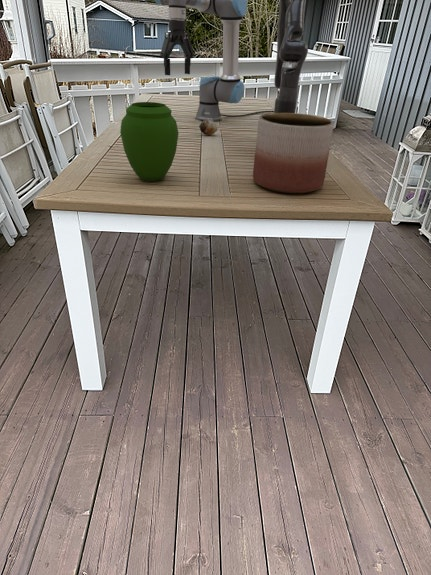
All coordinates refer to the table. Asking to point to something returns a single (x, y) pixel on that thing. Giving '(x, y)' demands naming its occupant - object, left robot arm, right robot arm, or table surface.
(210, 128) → the seashell
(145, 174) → the vase
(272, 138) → the planter
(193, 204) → the table surface
